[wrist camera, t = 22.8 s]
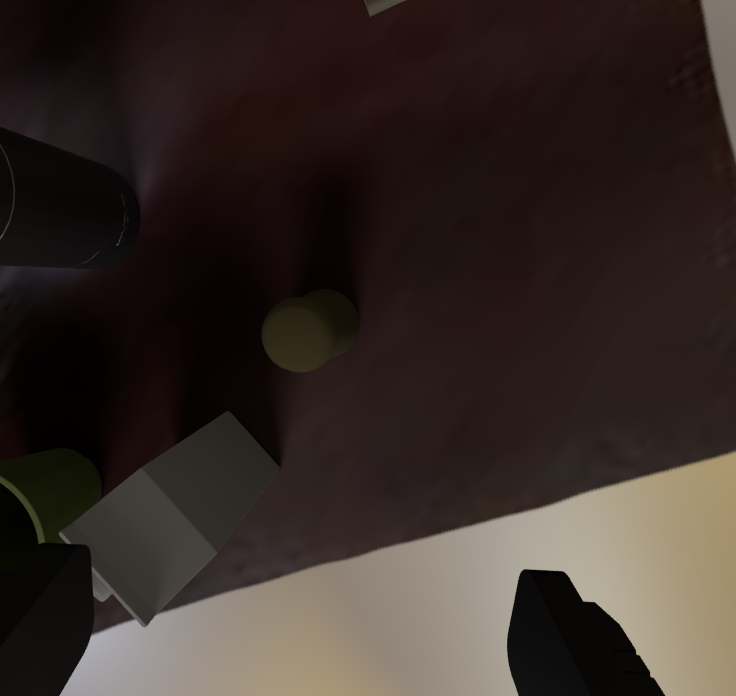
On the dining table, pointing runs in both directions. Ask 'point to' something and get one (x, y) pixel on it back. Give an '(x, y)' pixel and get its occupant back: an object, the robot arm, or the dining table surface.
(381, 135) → the dining table surface
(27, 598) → the robot arm
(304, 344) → the olive cylinder
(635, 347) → the dining table surface
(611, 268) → the dining table surface
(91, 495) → the plant pot
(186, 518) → the milk carton
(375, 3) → the stepped stand
